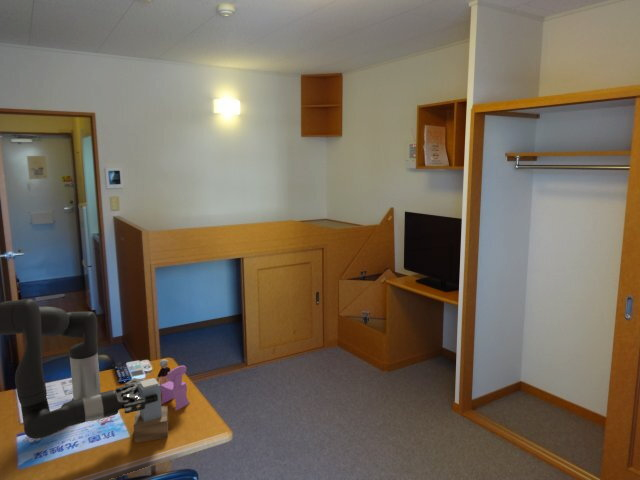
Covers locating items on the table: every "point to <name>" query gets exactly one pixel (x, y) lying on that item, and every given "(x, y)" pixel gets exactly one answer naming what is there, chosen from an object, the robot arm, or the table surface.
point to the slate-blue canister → (152, 408)
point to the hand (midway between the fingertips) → (153, 391)
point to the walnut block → (151, 427)
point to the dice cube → (135, 382)
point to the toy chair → (175, 388)
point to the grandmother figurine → (163, 372)
